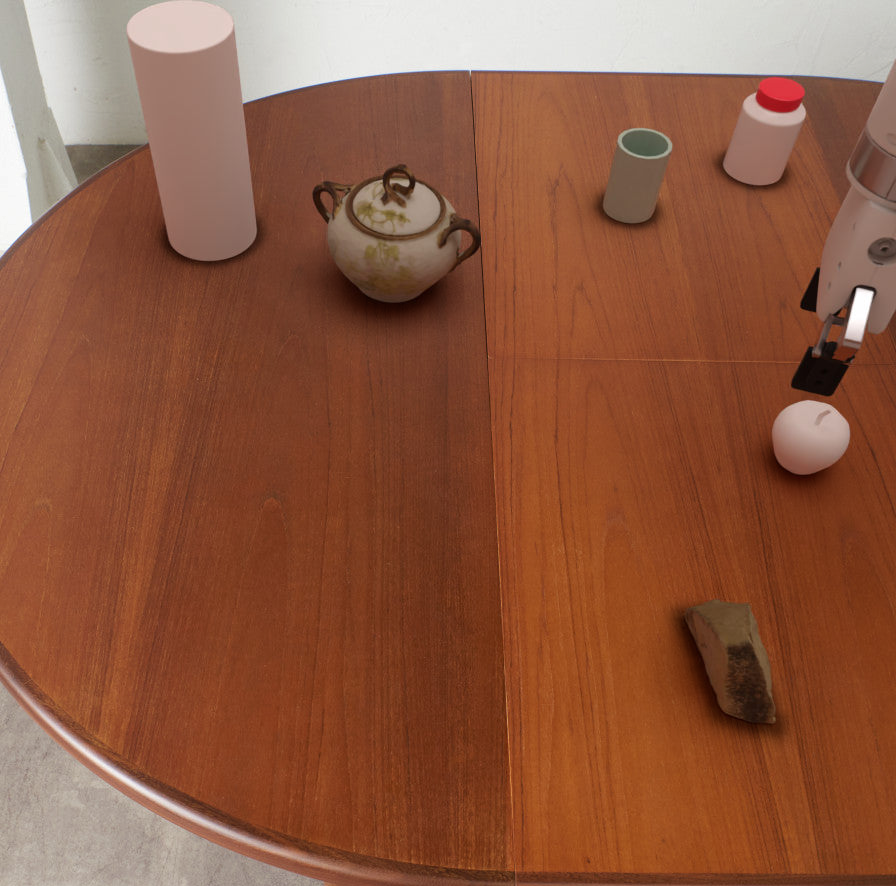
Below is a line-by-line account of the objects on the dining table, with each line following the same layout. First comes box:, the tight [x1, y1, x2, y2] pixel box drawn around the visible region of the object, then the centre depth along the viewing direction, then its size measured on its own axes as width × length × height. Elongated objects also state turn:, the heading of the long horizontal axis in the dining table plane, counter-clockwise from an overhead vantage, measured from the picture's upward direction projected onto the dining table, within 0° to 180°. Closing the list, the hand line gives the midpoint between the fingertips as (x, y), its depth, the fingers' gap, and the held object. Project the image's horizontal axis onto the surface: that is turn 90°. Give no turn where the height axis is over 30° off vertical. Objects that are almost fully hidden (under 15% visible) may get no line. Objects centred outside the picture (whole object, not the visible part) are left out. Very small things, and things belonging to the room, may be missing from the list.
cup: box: [602, 127, 673, 224], centre depth 115 cm, size 6×6×9 cm
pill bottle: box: [722, 76, 807, 186], centre depth 120 cm, size 8×8×11 cm
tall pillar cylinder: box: [125, 0, 258, 262], centre depth 104 cm, size 11×11×25 cm
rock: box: [683, 598, 777, 725], centre depth 78 cm, size 11×9×10 cm
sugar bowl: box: [311, 163, 482, 304], centre depth 103 cm, size 20×15×15 cm
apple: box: [771, 399, 851, 476], centre depth 91 cm, size 7×7×8 cm
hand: (814, 349), depth 77 cm, fingers open, 9 cm apart
